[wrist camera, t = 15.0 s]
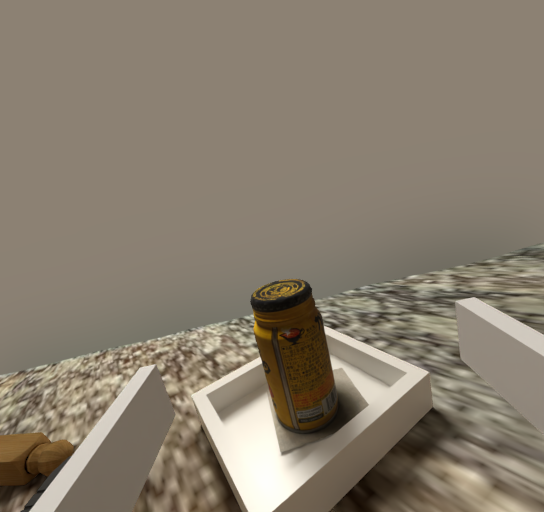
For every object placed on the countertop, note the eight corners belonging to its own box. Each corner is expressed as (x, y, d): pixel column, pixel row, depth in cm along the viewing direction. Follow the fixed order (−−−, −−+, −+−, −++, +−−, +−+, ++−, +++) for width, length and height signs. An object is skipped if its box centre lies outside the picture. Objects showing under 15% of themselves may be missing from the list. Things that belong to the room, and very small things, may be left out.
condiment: (267, 393, 29) (238, 286, 26) (342, 368, 30) (322, 264, 27) (281, 455, 21) (243, 317, 19) (379, 420, 22) (356, 285, 20)
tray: (324, 347, 36) (319, 323, 35) (433, 406, 24) (429, 372, 23) (200, 424, 28) (191, 395, 27) (269, 570, 16) (255, 526, 15)
